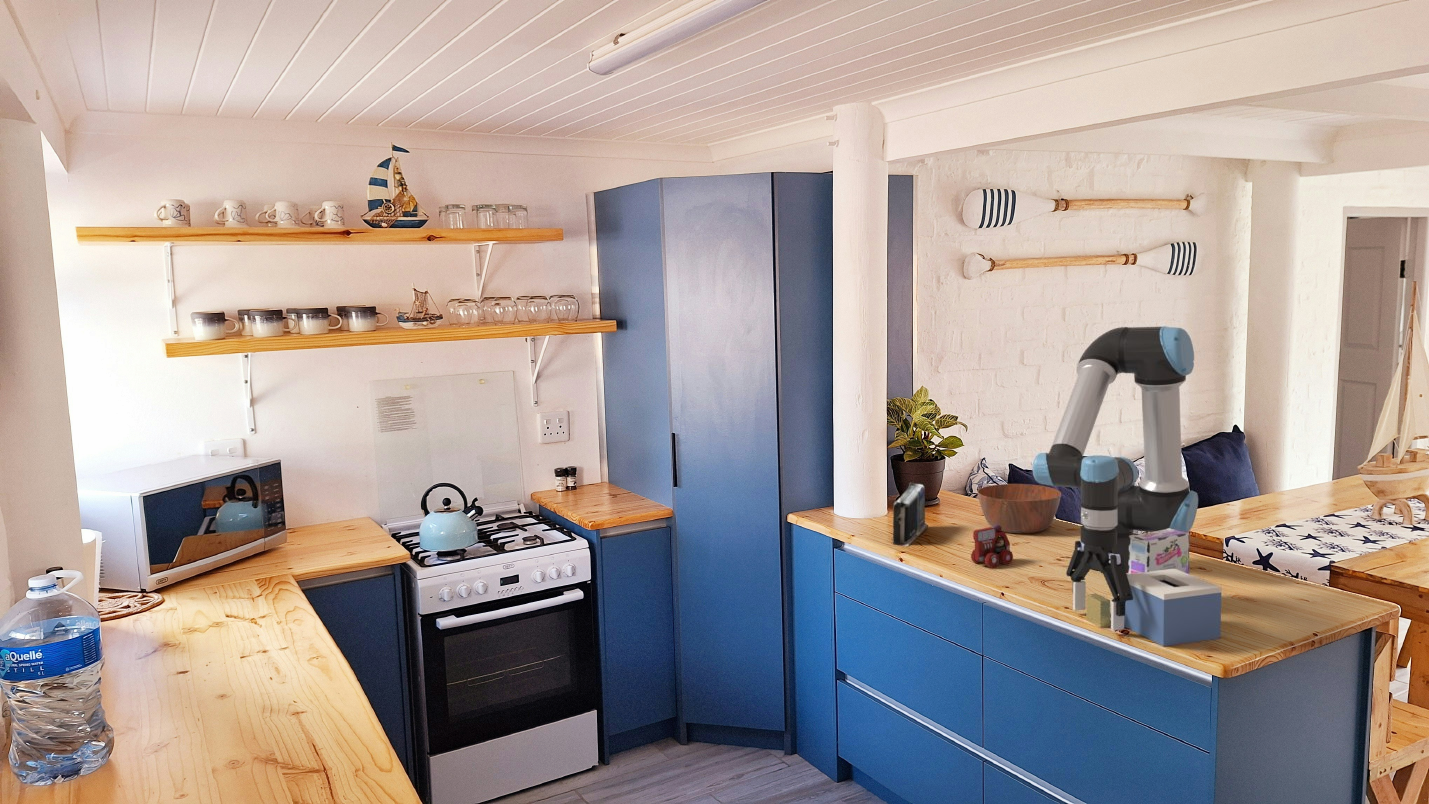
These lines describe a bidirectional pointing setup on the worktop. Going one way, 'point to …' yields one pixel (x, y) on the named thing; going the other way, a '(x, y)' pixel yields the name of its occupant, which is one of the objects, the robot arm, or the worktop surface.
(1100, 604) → the wooden toy block
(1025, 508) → the bowl
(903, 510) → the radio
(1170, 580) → the coin box
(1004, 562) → the toy fire truck
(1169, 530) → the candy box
